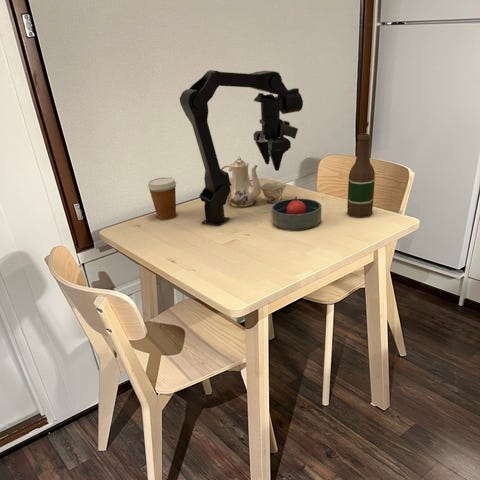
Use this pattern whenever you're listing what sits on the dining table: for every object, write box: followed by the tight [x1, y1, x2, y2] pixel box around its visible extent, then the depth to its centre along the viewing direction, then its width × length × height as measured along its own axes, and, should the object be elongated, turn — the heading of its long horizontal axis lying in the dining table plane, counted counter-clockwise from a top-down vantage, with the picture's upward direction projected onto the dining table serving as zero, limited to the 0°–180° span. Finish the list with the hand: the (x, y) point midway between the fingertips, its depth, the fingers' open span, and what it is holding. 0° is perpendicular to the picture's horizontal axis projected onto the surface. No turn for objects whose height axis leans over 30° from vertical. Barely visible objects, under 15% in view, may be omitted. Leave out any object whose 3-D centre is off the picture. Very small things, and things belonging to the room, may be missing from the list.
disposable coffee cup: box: [147, 176, 177, 220], centre depth 163 cm, size 10×10×12 cm
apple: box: [287, 196, 306, 214], centre depth 150 cm, size 6×6×7 cm
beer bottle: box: [346, 132, 376, 218], centre depth 148 cm, size 8×8×24 cm
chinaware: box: [220, 155, 286, 208], centre depth 170 cm, size 28×17×17 cm, turn 58°
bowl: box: [270, 198, 323, 231], centre depth 151 cm, size 15×15×5 cm
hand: (272, 167), depth 159 cm, fingers open, 9 cm apart
